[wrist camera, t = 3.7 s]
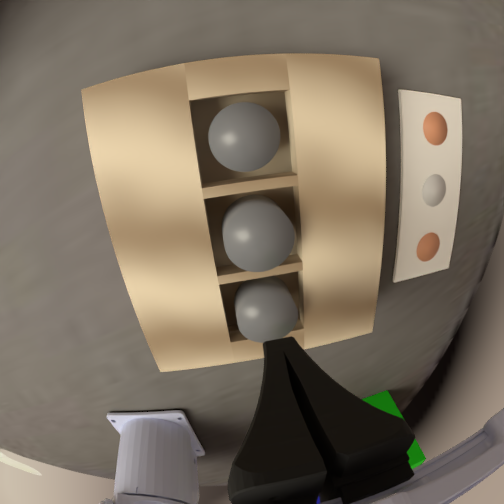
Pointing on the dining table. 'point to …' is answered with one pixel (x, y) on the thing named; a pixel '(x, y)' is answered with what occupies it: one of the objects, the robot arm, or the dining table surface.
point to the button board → (236, 186)
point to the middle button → (257, 233)
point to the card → (428, 182)
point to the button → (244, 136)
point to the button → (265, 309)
